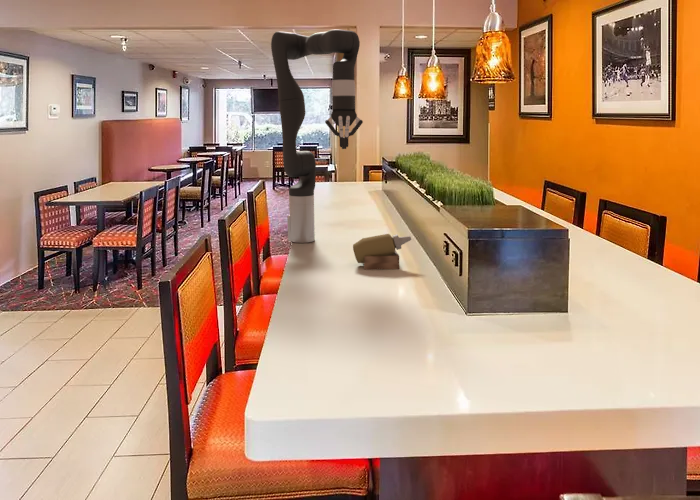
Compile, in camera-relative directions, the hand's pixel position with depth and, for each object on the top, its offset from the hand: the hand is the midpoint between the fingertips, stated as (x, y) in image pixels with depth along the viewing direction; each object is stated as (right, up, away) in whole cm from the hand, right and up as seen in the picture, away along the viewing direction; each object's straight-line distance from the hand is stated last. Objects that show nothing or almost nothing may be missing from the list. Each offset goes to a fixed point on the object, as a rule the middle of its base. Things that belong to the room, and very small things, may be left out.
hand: (344, 148), depth 197 cm
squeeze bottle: (+3, -35, -12) cm, 37 cm away
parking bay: (+11, -38, -11) cm, 41 cm away
